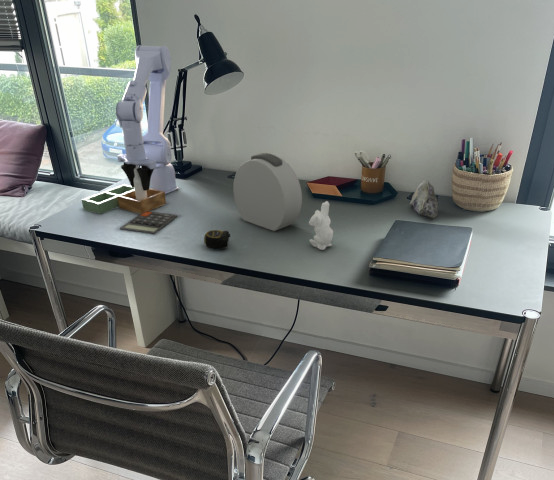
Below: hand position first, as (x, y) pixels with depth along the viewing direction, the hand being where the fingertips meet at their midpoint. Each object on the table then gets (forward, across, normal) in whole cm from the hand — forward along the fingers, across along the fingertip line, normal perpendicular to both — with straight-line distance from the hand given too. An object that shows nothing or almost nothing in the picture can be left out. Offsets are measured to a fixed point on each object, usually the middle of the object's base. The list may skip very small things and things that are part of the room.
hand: (140, 188), depth 179 cm
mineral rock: (+6, +79, +42) cm, 90 cm away
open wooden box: (+6, 0, 0) cm, 6 cm away
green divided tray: (+6, -10, -4) cm, 12 cm away
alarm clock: (+6, +42, +10) cm, 43 cm away
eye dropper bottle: (+5, 0, 0) cm, 5 cm away
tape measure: (+6, +41, -12) cm, 43 cm away
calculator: (+6, +12, -9) cm, 16 cm away
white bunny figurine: (+6, +65, +4) cm, 65 cm away
